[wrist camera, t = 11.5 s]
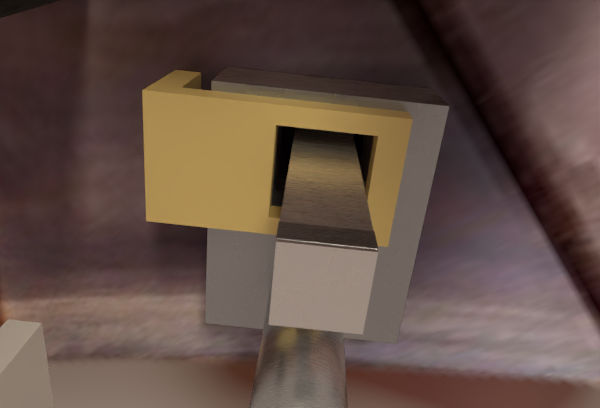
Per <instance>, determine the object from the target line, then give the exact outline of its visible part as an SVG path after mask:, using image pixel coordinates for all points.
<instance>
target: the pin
mask: <svg viewBox="0 0 600 408" xmlns="http://www.w3.org/2000/svg"><path fill="white" fill-rule="evenodd" d="M377 256H378V245H377V240H376V236H375V231H374V230H373V226H372V221H371V216H370V211H369V207H368V202H367V197H366V193H365V188H364V183H363V179H362V174H361V169H360V165H359V160H358V155H357V151H356V146H355V141H354V137H353V133H345V132H335V131H326V130H317V129H308V128H298V127H295V133H294V139H293V145H292V151H291V157H290V163H289V169H288V174H287V180H286V186H285V192H284V198H283V204H282V210H281V215H280V221H279V223H278V229H277V235H276V243H275V255H274V266H273V277H272V288H271V299H270V310H269V325H276V326H285V327H295V328H305V329H314V330H324V331H333V332H343V333H353V334H362V335H363V331H364V326H365V320H366V315H367V310H368V304H369V299H370V294H371V288H372V283H373V277H374V272H375V267H376V261H377Z"/></svg>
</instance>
